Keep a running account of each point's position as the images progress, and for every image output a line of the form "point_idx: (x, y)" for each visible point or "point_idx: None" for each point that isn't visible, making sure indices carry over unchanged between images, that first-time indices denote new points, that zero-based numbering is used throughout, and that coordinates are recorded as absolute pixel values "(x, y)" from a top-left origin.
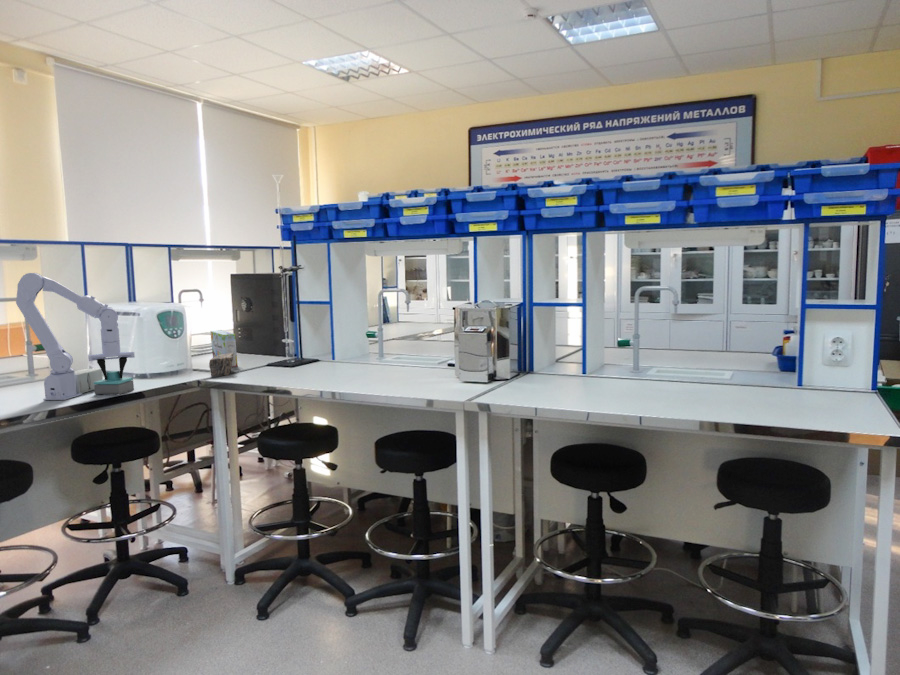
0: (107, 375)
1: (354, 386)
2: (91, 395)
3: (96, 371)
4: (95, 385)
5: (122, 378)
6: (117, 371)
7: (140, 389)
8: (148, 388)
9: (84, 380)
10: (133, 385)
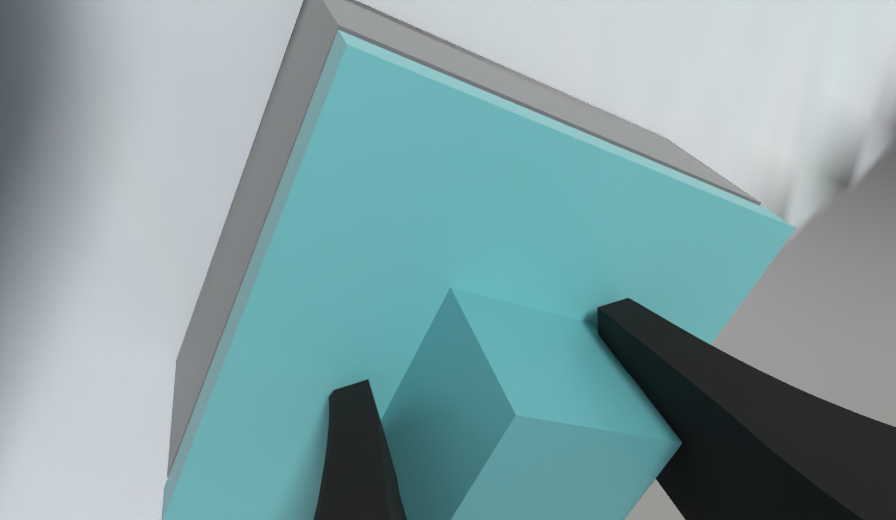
0: (418, 504)
1: None
2: (135, 385)
3: None
4: None
5: (630, 274)
6: (639, 496)
7: (741, 140)
8: (836, 99)
9: None
10: (703, 165)
